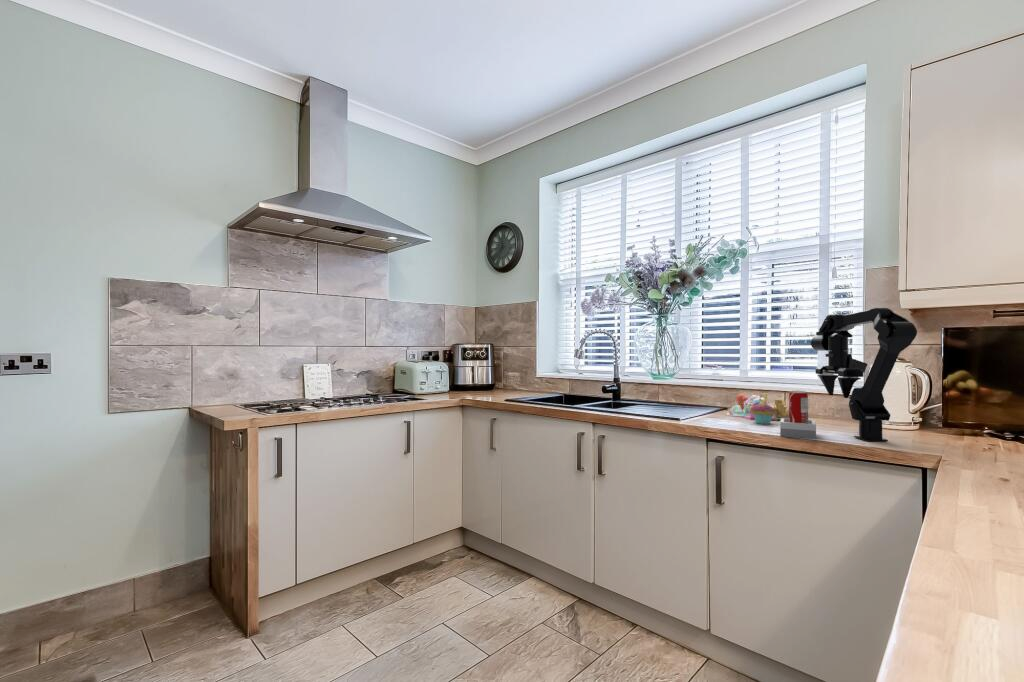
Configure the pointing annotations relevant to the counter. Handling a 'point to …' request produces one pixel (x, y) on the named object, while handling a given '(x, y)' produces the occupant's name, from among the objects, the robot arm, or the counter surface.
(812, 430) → the socket block
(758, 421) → the cupcake
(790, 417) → the soda can
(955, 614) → the counter surface
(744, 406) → the colorful dessert platter
